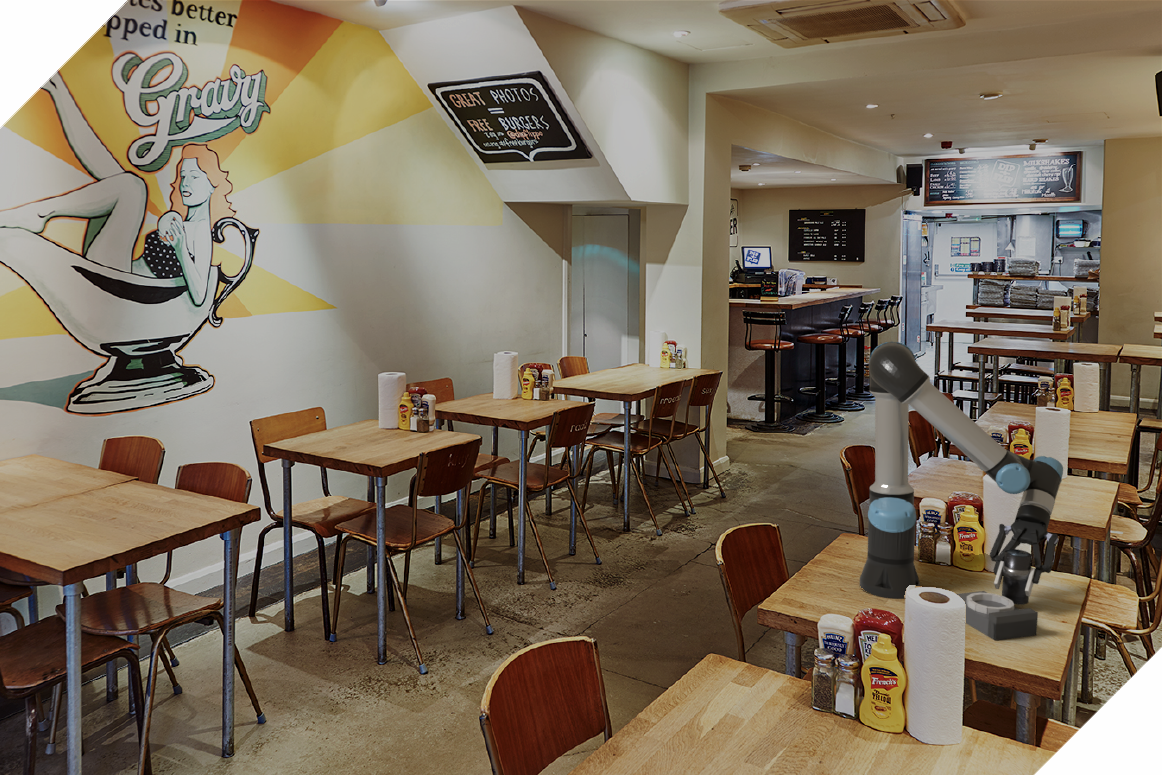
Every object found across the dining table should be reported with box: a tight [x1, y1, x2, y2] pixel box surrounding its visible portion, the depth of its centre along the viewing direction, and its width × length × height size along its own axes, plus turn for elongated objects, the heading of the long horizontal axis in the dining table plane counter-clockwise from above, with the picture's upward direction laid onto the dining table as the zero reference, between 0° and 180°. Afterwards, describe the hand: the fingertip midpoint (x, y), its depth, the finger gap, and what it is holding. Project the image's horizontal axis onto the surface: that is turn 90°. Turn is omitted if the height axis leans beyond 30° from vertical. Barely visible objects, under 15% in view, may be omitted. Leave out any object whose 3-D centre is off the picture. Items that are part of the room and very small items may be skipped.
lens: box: [1001, 548, 1033, 606], centre depth 211 cm, size 6×6×12 cm
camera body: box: [956, 590, 1039, 641], centre depth 204 cm, size 18×11×6 cm, turn 13°
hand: (1011, 589), depth 209 cm, fingers closed on lens, 6 cm apart
